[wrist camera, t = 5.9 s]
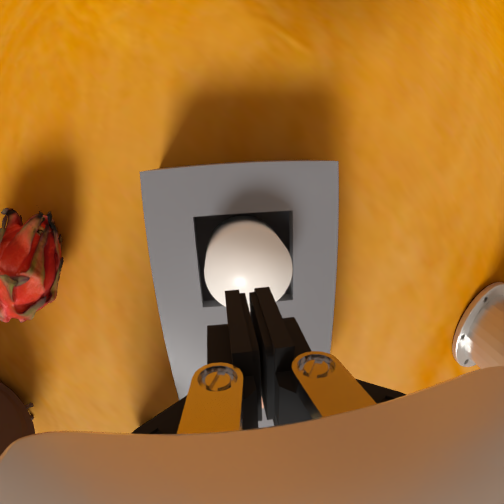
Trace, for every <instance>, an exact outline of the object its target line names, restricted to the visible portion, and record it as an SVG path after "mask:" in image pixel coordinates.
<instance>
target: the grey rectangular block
mask: <svg viewBox="0 0 504 504" xmlns="http://www.w3.org/2000/svg"><path fill="white" fill-rule="evenodd" d="M140 179H141V190H142V200H143V210H144V219H145V227H146V235H147V242H148V250H149V257H150V263H151V270H152V276H153V282H154V288H155V294H156V299H157V305H158V310H159V315H160V320H161V325H162V330H163V335H164V339H165V344H166V348H167V353H168V357H169V362H170V366H171V370H172V374H173V378H174V382H175V386H176V390H177V394H178V397H179V400H181V399H182V398H184V397H185V396H187V394H188V391H189V387H190V384H191V380H192V377H193V375H194V373H195V372H196V371H197V370H198V369H199V368H201V367H203V366H205V365H207V326H208V325H220V324H228V322H227V311H226V307H225V306H224V305H222V304H221V303H219V302H218V301H217V300H216V299H215V298H214V297H213V296H212V294H211V293H210V291H209V289H208V287H207V285H206V282H205V277H204V267H205V259H206V251H207V244H208V240H209V238H210V236H211V234H212V232H213V231H214V230H215V228H216V227H217V226H218V225H219V224H221V223H222V222H223V221H225V220H227V219H229V218H232V217H235V216H241V215H247V216H253V217H256V218H259V219H261V220H263V221H264V222H266V223H267V224H268V225H269V226H270V227H271V228H272V229H273V230H274V232H275V233H276V235H277V236H278V237H279V239H280V240H281V241H282V243H283V244H284V245H285V247H286V248H287V250H288V252H289V254H290V257H291V260H292V268H293V270H292V278H291V281H290V284H289V286H288V288H287V290H286V292H285V293H284V294H283V296H282V297H281V298H280V299H279V300H278V301H276V304H277V306H278V309H279V311H280V313H281V316H282V318H288V317H294V318H295V319H296V321H297V323H298V325H299V327H300V329H301V331H302V333H303V335H304V337H305V339H306V341H307V343H308V345H309V347H310V349H311V351H321V352H325V353H329V354H330V348H331V338H332V327H333V316H334V303H335V288H336V271H337V249H338V210H339V173H338V161H326V160H272V161H247V162H229V163H214V164H201V165H189V166H178V167H168V168H159V169H153V170H148V171H143V172H140ZM270 426H274V422H273V419H272V420H267V418H266V414H265V409H264V408H262V421H258V428H263V427H270Z"/></svg>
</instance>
